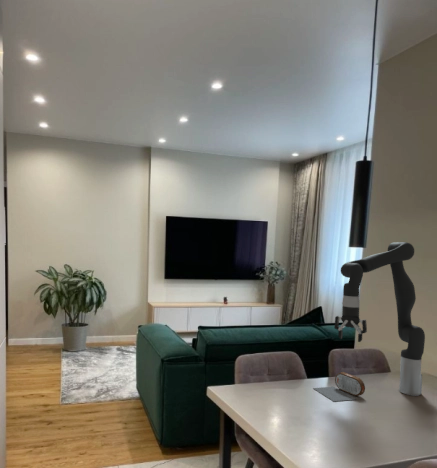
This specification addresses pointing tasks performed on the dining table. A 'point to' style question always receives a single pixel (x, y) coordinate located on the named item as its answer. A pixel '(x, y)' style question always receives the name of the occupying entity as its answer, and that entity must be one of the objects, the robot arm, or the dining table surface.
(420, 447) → the dining table surface
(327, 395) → the mat
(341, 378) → the tin
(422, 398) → the dining table surface
